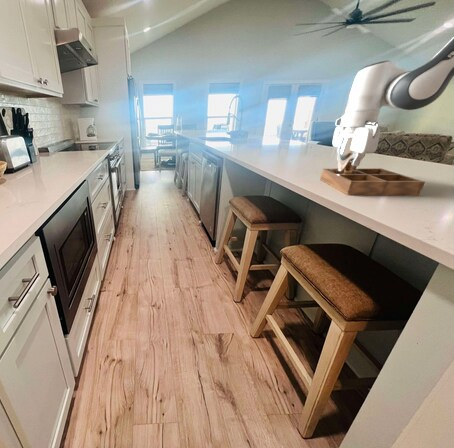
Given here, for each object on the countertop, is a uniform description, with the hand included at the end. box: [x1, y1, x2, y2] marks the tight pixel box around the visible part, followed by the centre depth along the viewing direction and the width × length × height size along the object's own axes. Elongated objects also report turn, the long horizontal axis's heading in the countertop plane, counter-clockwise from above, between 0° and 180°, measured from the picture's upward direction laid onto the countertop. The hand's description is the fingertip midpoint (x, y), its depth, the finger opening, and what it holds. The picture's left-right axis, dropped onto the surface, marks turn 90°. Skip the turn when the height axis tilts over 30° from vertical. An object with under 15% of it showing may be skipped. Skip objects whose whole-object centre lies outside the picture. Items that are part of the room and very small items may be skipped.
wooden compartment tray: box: [320, 167, 426, 197], centre depth 82 cm, size 19×19×4 cm
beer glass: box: [336, 136, 358, 174], centre depth 84 cm, size 7×7×15 cm
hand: (347, 163), depth 85 cm, fingers open, 8 cm apart
